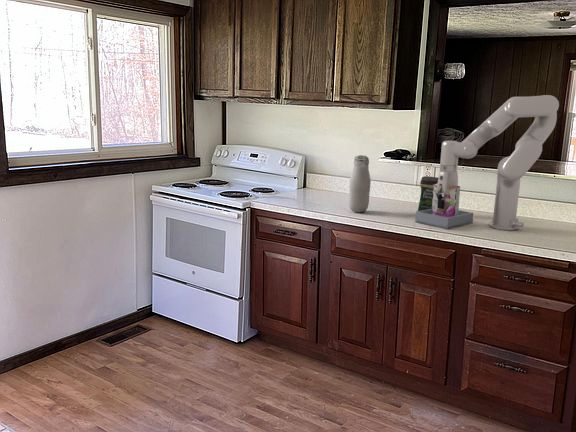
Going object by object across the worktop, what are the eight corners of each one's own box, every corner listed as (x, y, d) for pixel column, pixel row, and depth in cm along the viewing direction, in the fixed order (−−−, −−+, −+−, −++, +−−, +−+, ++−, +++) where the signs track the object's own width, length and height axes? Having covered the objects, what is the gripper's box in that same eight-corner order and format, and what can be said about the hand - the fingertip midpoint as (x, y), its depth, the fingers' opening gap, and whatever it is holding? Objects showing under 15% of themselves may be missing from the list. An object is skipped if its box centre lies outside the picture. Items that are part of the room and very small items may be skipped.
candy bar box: (430, 219, 254) (432, 184, 251) (434, 218, 258) (436, 183, 255) (454, 223, 248) (456, 187, 244) (458, 221, 252) (460, 185, 248)
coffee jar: (416, 214, 270) (419, 176, 266) (419, 211, 277) (422, 174, 273) (436, 216, 266) (439, 178, 262) (439, 213, 273) (442, 176, 269)
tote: (472, 223, 253) (473, 212, 252) (447, 229, 241) (448, 218, 240) (440, 216, 266) (441, 206, 265) (415, 222, 253) (416, 211, 252)
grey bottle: (346, 213, 270) (349, 155, 264) (350, 209, 279) (353, 153, 273) (366, 214, 267) (369, 156, 261) (370, 210, 276) (373, 154, 270)
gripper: (444, 170, 240) (441, 211, 244) (466, 168, 251) (463, 206, 255) (429, 168, 245) (426, 208, 249) (452, 166, 256) (449, 204, 260)
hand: (445, 207), depth 252 cm, fingers open, 6 cm apart
